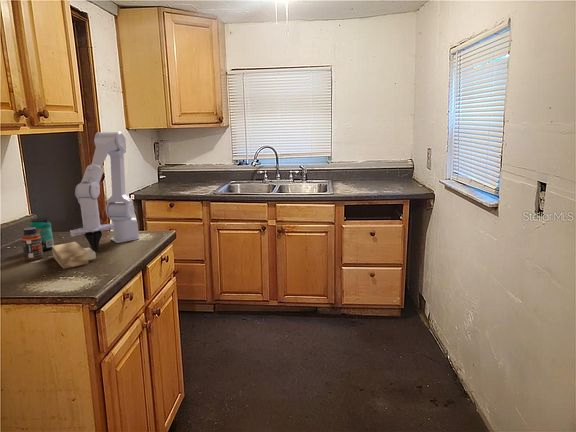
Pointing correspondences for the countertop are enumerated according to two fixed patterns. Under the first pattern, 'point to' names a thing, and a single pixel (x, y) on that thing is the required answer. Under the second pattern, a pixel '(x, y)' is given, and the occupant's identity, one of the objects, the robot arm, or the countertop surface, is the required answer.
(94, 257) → the white block
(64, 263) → the tan rectangular block
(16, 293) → the countertop surface
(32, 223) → the beverage can
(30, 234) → the supplement bottle
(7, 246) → the countertop surface
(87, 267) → the countertop surface
